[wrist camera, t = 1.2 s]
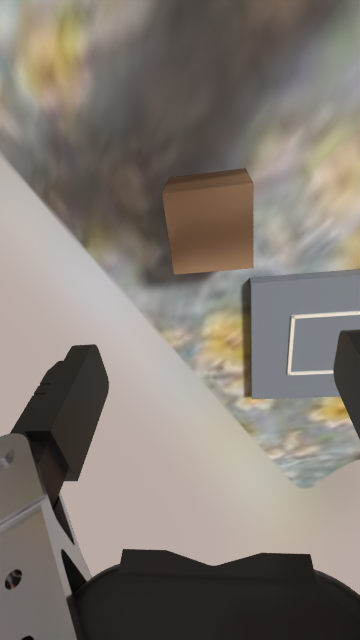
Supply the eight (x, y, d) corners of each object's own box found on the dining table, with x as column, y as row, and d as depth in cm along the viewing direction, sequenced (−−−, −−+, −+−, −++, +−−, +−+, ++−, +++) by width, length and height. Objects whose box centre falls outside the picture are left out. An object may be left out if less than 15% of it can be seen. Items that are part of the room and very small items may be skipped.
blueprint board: (250, 278, 28) (251, 284, 27) (427, 263, 26) (435, 270, 25) (251, 392, 36) (252, 400, 35) (387, 387, 34) (393, 395, 33)
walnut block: (169, 177, 24) (161, 193, 20) (245, 168, 23) (253, 182, 19) (179, 247, 27) (174, 274, 23) (246, 241, 26) (253, 268, 22)
